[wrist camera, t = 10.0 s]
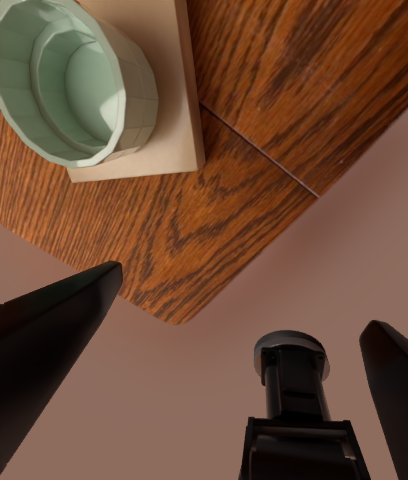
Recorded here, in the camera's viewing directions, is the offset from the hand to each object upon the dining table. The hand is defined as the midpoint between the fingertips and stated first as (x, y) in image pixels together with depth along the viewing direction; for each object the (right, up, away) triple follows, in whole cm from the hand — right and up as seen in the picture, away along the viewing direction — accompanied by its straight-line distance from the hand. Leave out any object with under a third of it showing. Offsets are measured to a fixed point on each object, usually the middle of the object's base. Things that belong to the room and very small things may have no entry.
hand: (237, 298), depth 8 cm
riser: (-7, +12, +9) cm, 16 cm away
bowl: (-7, +11, +6) cm, 14 cm away
